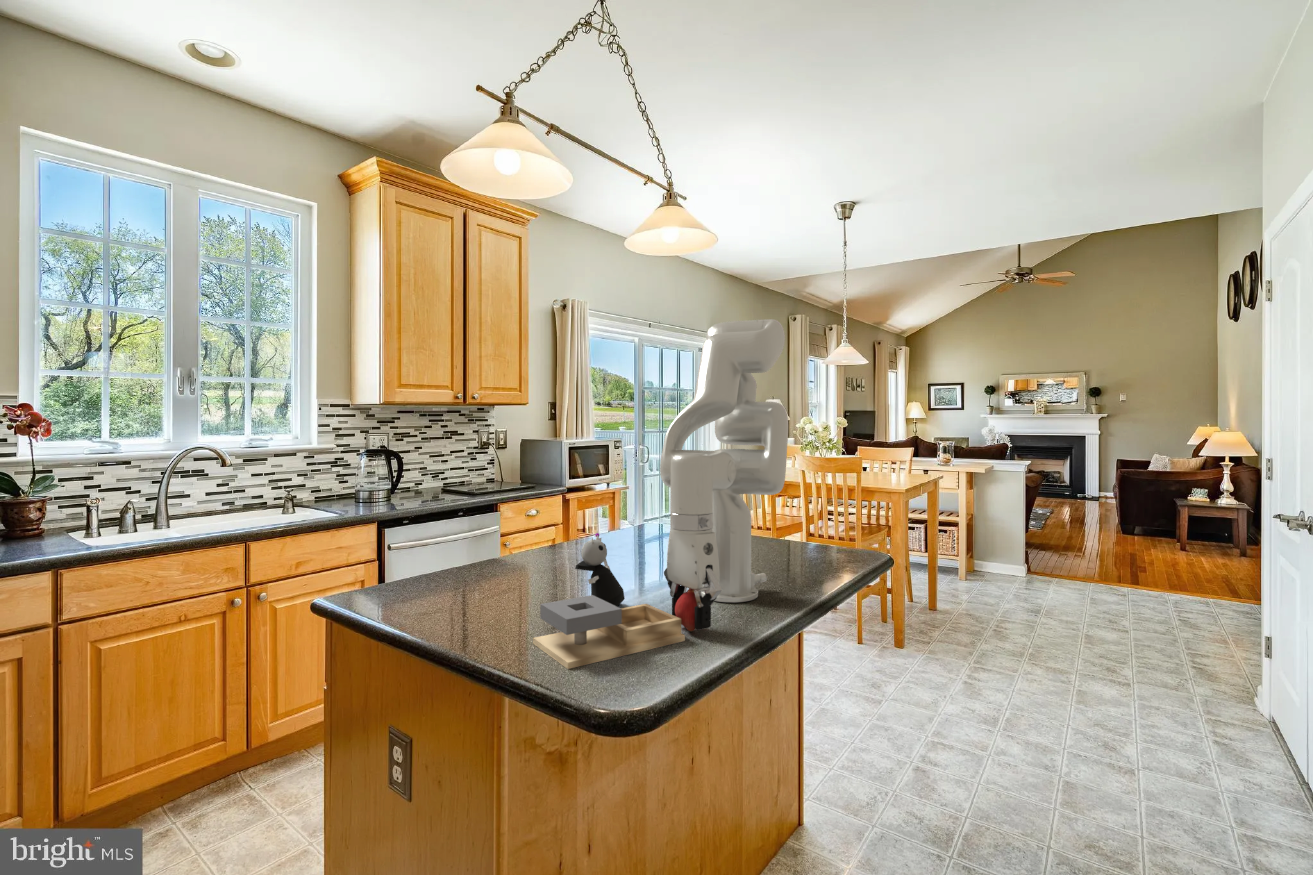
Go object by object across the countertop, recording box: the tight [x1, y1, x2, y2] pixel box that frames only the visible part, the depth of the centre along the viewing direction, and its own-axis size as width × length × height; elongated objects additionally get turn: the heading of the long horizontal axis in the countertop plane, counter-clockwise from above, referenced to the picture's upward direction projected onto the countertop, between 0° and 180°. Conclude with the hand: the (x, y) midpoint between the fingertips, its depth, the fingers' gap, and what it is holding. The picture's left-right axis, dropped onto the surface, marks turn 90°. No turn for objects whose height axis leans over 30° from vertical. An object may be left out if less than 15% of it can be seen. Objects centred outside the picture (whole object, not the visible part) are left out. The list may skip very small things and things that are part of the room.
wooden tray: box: [532, 603, 686, 670], centre depth 105 cm, size 22×13×6 cm, turn 124°
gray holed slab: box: [539, 594, 622, 635], centre depth 102 cm, size 10×10×2 cm
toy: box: [575, 533, 625, 607], centre depth 123 cm, size 12×7×15 cm, turn 168°
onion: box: [675, 588, 697, 632], centre depth 111 cm, size 6×6×8 cm
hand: (690, 622), depth 111 cm, fingers closed on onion, 5 cm apart
